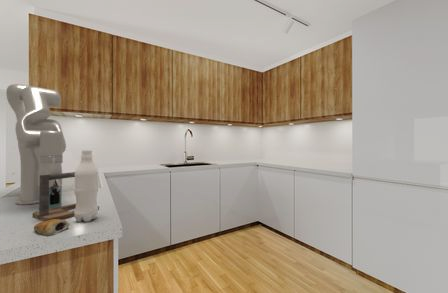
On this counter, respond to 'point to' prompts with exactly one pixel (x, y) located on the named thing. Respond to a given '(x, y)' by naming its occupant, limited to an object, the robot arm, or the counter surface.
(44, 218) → the hook shelf
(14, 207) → the counter surface
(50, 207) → the teal rectangular block
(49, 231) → the pastry
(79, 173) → the water bottle
